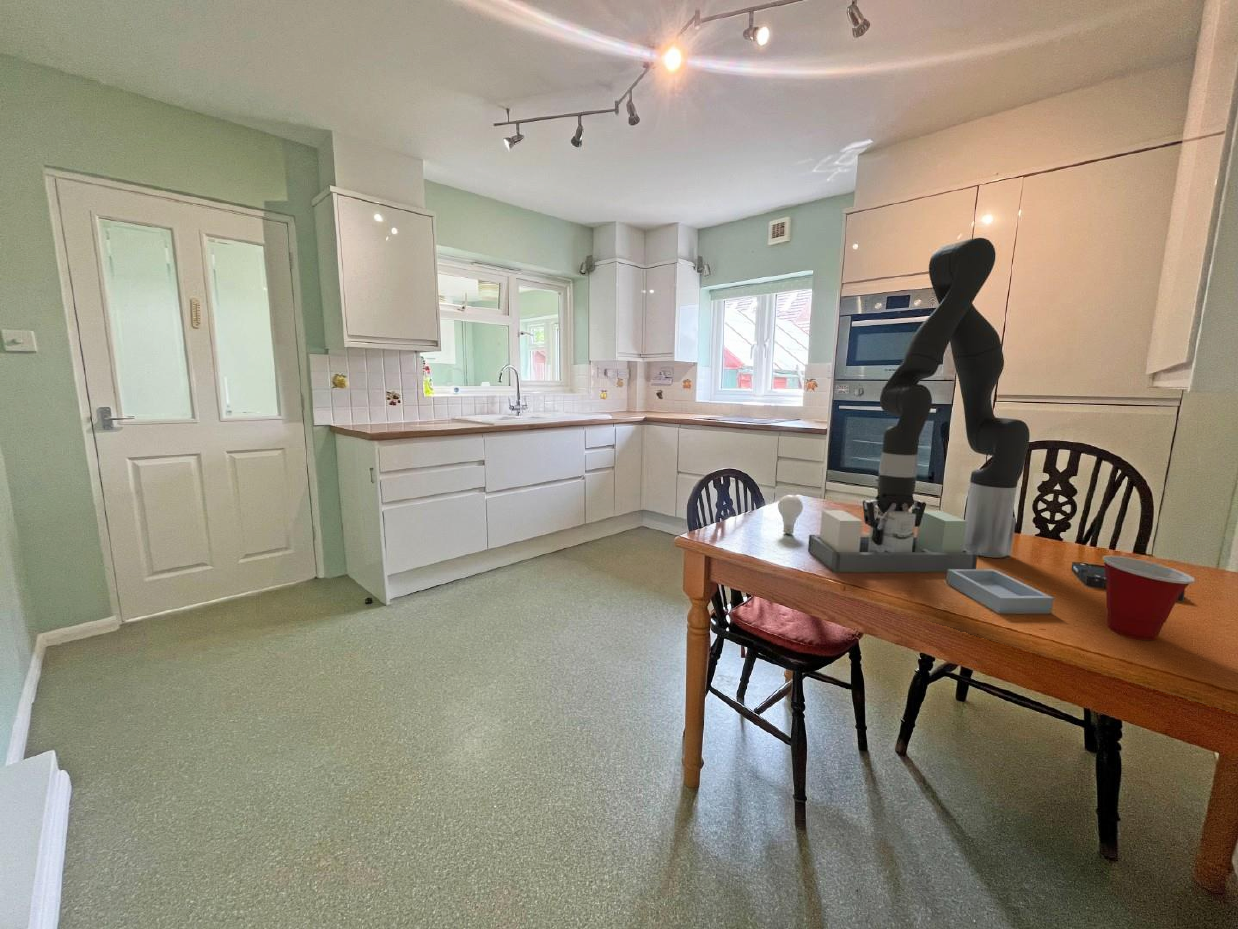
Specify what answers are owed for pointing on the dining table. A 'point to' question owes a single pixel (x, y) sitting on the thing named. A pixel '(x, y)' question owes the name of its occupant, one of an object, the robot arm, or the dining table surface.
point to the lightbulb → (789, 511)
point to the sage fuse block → (940, 532)
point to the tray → (999, 591)
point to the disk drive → (1096, 575)
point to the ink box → (895, 532)
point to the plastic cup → (1140, 595)
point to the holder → (890, 558)
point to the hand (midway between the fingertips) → (889, 543)
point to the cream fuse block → (840, 530)
